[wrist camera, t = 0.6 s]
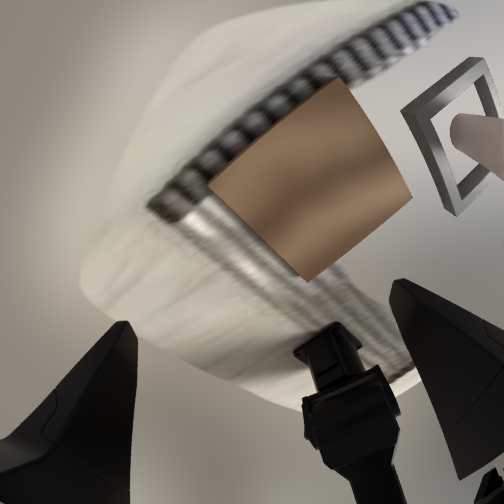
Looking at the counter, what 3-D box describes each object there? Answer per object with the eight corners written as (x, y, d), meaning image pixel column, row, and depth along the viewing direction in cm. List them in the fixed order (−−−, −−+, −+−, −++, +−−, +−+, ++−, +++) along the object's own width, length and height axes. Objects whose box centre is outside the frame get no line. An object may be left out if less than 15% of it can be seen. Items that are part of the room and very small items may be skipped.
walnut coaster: (406, 193, 22) (412, 197, 22) (304, 276, 26) (307, 282, 25) (333, 77, 17) (339, 76, 16) (207, 181, 20) (207, 185, 19)
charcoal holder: (502, 149, 20) (514, 155, 19) (444, 208, 24) (456, 217, 22) (469, 56, 15) (484, 57, 14) (399, 110, 18) (414, 114, 17)
